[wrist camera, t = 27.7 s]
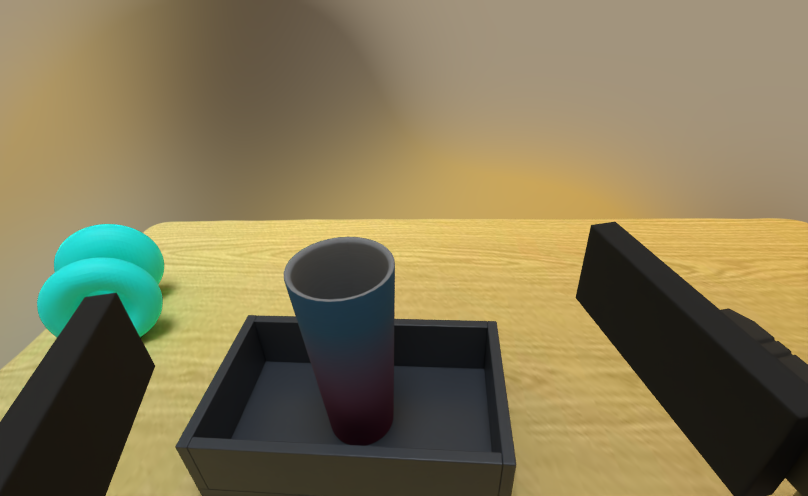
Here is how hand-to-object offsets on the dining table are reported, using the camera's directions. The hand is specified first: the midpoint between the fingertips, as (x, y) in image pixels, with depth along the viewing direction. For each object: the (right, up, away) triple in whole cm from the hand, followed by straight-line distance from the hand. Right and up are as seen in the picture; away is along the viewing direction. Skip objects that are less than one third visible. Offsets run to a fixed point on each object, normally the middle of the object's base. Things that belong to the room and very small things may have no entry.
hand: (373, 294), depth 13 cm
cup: (-2, -12, +23) cm, 26 cm away
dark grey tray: (-2, -13, +23) cm, 27 cm away
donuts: (-29, -7, +35) cm, 46 cm away
